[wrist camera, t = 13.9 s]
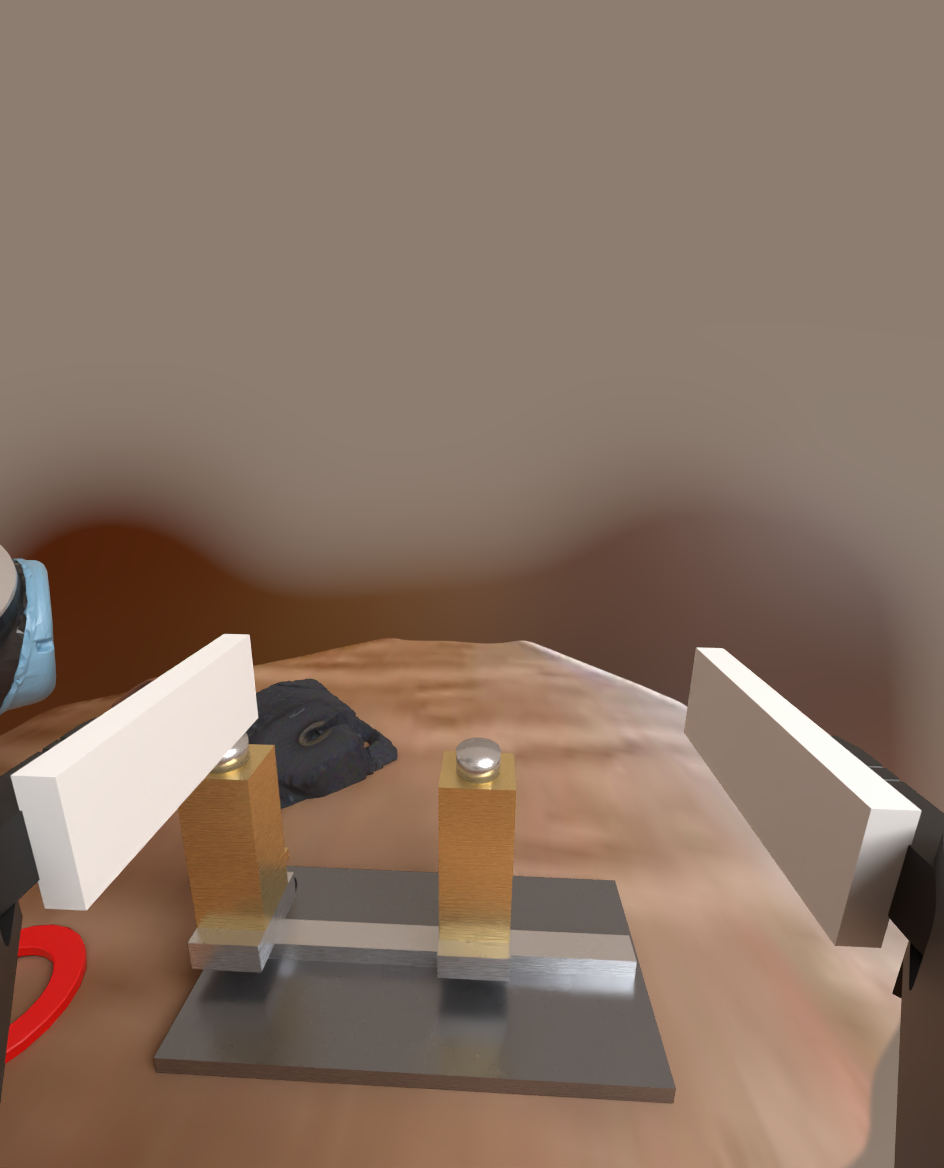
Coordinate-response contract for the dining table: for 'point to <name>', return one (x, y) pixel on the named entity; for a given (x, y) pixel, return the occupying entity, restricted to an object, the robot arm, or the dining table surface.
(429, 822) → the dining table surface
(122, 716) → the robot arm
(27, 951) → the tow hook
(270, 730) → the dark folded cloth
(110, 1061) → the dining table surface
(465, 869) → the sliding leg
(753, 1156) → the dining table surface
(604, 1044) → the bolt plate
